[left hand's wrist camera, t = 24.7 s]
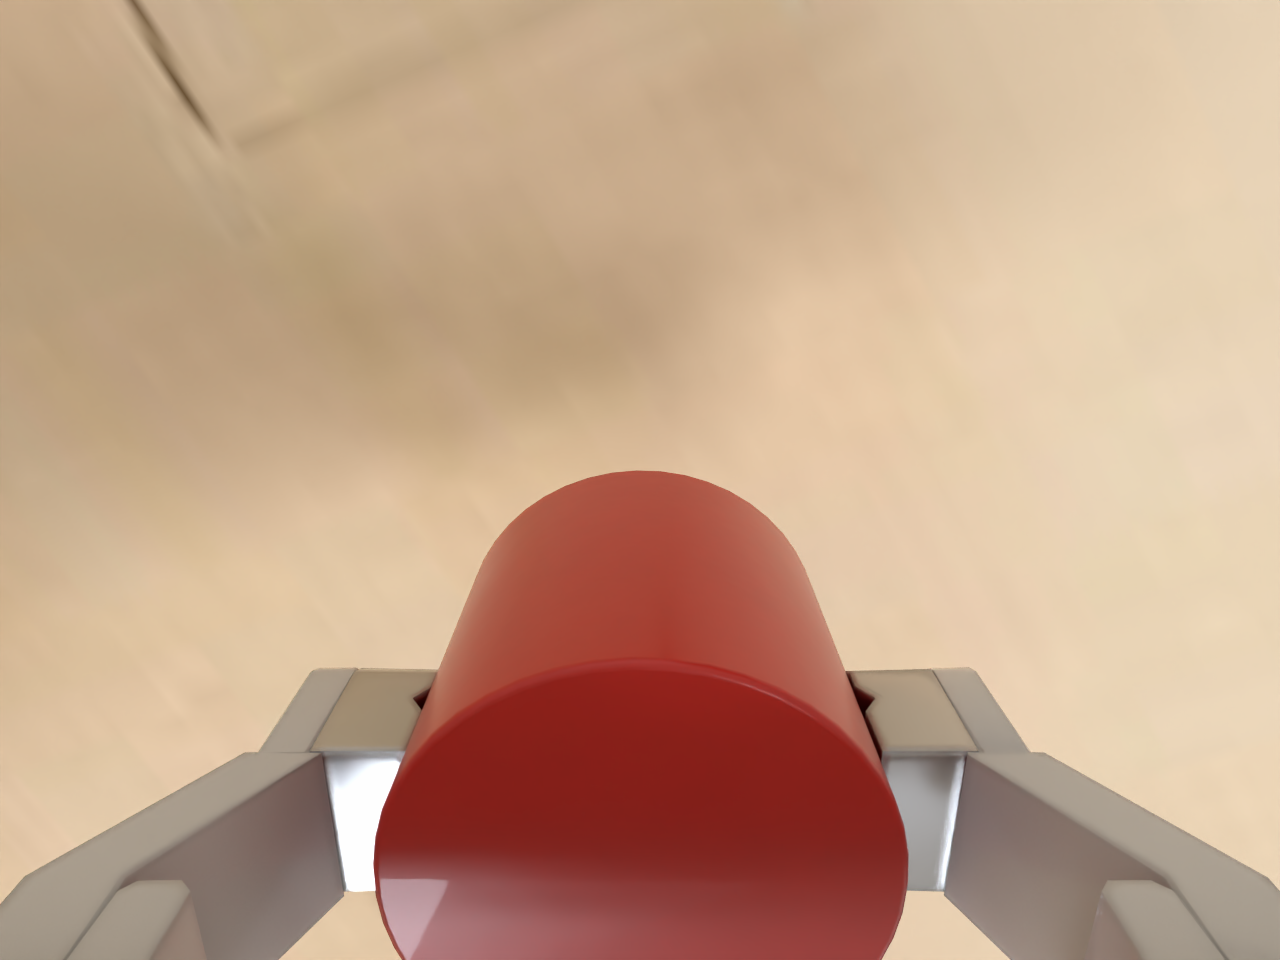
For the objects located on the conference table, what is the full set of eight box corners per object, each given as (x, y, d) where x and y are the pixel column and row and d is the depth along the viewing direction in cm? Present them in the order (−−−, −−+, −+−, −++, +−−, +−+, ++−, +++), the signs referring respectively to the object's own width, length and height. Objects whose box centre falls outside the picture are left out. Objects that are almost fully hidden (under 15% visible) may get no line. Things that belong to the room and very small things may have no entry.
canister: (829, 748, 12) (924, 1051, 8) (510, 790, 13) (443, 1103, 8) (797, 442, 11) (895, 622, 7) (431, 498, 11) (300, 705, 7)
